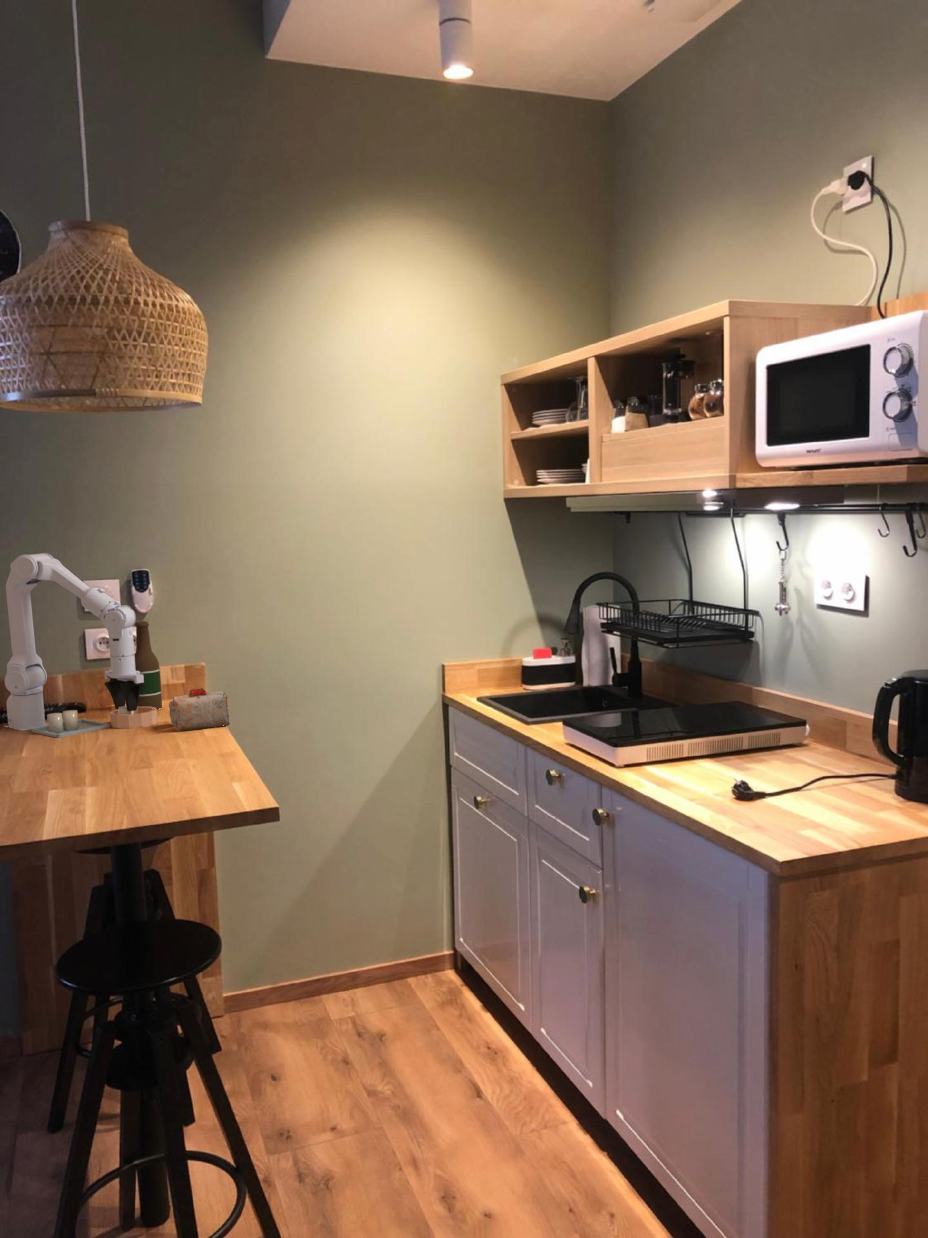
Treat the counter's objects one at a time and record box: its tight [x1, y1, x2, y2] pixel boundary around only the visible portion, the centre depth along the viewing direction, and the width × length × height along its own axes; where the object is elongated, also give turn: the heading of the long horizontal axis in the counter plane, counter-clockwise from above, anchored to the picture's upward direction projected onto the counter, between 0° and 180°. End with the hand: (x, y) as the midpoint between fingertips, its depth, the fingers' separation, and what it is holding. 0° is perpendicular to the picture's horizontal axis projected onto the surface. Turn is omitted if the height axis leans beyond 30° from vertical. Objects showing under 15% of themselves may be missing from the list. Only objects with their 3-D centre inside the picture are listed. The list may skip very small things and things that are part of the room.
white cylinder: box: [46, 712, 63, 734], centre depth 252 cm, size 3×3×4 cm
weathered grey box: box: [168, 686, 231, 732], centre depth 254 cm, size 14×8×10 cm, turn 113°
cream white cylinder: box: [119, 705, 134, 714], centre depth 258 cm, size 3×3×4 cm
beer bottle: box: [134, 620, 163, 711], centre depth 279 cm, size 8×8×24 cm
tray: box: [30, 718, 112, 739], centre depth 255 cm, size 13×14×1 cm
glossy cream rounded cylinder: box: [62, 709, 79, 731], centre depth 255 cm, size 3×3×4 cm
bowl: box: [109, 707, 158, 730], centre depth 259 cm, size 11×11×4 cm
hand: (126, 709), depth 258 cm, fingers open, 5 cm apart
